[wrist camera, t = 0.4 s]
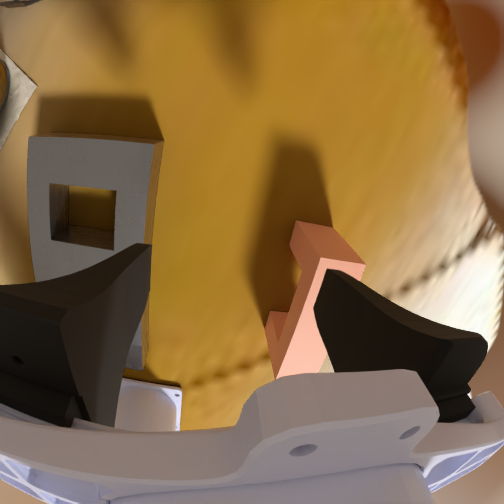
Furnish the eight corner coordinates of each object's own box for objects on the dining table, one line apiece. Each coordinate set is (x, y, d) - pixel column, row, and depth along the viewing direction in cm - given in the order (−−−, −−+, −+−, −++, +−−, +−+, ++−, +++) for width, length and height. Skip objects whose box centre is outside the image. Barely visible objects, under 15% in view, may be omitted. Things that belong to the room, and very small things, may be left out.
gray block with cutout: (148, 347, 25) (142, 371, 23) (62, 329, 24) (50, 349, 21) (164, 140, 18) (154, 144, 15) (50, 132, 17) (28, 136, 14)
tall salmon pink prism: (297, 331, 26) (313, 381, 21) (264, 328, 25) (275, 380, 20) (333, 227, 22) (366, 264, 17) (295, 220, 21) (320, 257, 16)
